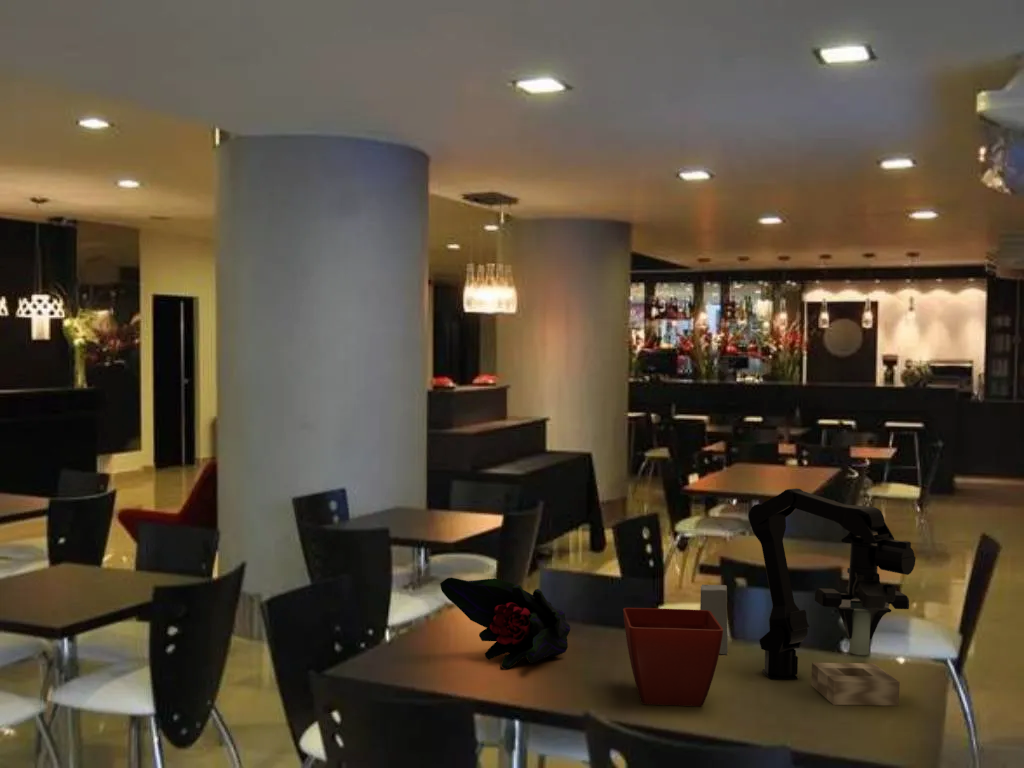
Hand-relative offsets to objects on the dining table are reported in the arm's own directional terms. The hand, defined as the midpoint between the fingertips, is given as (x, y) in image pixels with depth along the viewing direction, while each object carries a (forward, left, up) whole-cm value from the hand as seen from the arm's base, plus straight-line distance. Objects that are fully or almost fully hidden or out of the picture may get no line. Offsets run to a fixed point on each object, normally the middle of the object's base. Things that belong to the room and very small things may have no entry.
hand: (859, 638), depth 235 cm
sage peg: (0, 0, -3) cm, 3 cm away
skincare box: (-22, +37, -13) cm, 45 cm away
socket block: (0, +1, -13) cm, 13 cm away
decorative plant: (-72, +23, -13) cm, 77 cm away
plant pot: (-41, -2, -13) cm, 43 cm away
